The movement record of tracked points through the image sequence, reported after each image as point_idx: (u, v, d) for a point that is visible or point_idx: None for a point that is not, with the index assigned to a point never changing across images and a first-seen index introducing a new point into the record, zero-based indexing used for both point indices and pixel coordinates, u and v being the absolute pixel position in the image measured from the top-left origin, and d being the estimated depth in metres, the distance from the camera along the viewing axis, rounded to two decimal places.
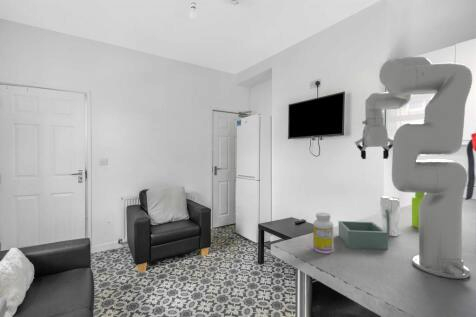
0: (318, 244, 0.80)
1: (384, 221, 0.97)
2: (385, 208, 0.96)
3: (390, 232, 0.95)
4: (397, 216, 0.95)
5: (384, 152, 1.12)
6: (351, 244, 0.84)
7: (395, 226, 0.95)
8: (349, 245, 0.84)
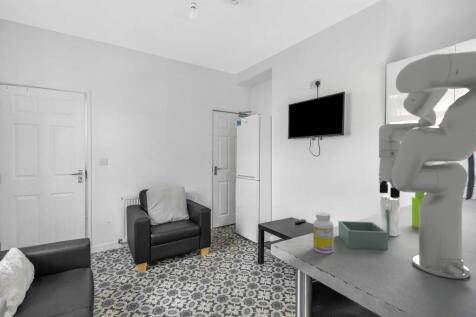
0: (318, 244, 0.80)
1: (384, 221, 0.97)
2: (385, 208, 0.96)
3: (390, 232, 0.95)
4: (397, 216, 0.95)
5: (383, 186, 1.03)
6: (351, 244, 0.84)
7: (395, 226, 0.95)
8: (349, 245, 0.84)
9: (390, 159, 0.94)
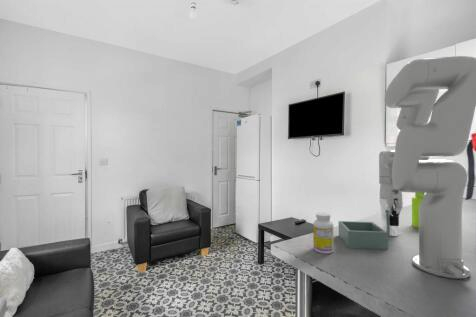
0: (318, 244, 0.80)
1: (384, 221, 0.97)
2: (385, 208, 0.96)
3: (390, 232, 0.95)
4: None
5: None
6: (351, 244, 0.84)
7: (395, 226, 0.95)
8: (349, 245, 0.84)
9: (390, 186, 0.94)
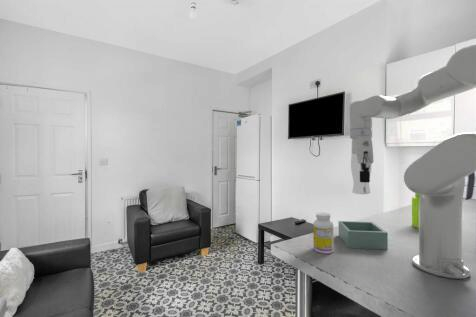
0: (318, 244, 0.80)
1: (354, 178, 0.89)
2: (356, 164, 0.87)
3: (361, 190, 0.87)
4: None
5: None
6: (351, 244, 0.84)
7: (366, 183, 0.87)
8: (349, 245, 0.84)
9: (360, 138, 0.85)
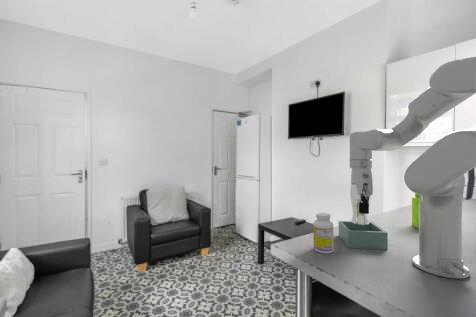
0: (318, 244, 0.80)
1: (354, 209, 0.89)
2: (355, 195, 0.87)
3: (360, 220, 0.87)
4: None
5: None
6: (351, 244, 0.84)
7: (365, 214, 0.87)
8: (349, 245, 0.84)
9: (360, 169, 0.85)
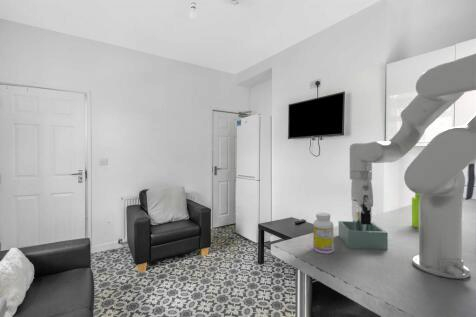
0: (318, 244, 0.80)
1: (355, 225, 0.89)
2: (357, 212, 0.87)
3: None
4: None
5: None
6: (351, 244, 0.84)
7: None
8: (349, 245, 0.84)
9: (360, 181, 0.85)
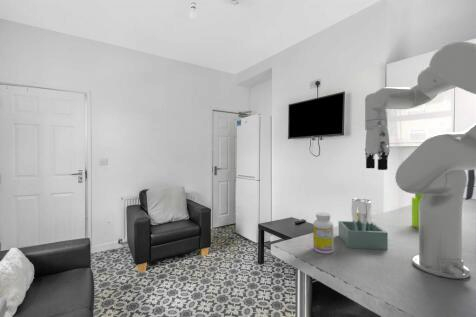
0: (318, 244, 0.80)
1: (355, 225, 0.89)
2: (356, 212, 0.87)
3: None
4: (369, 220, 0.86)
5: (370, 161, 0.96)
6: (351, 244, 0.84)
7: None
8: (349, 245, 0.84)
9: (377, 129, 0.88)
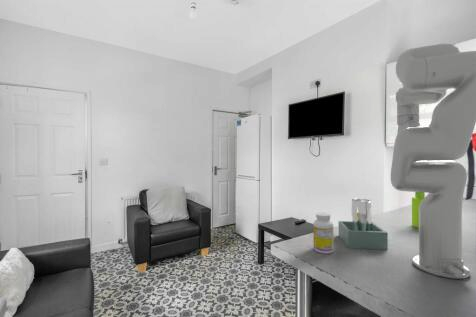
0: (318, 244, 0.80)
1: (355, 225, 0.89)
2: (356, 212, 0.87)
3: None
4: (369, 220, 0.86)
5: None
6: (351, 244, 0.84)
7: None
8: (349, 245, 0.84)
9: (409, 123, 0.94)
